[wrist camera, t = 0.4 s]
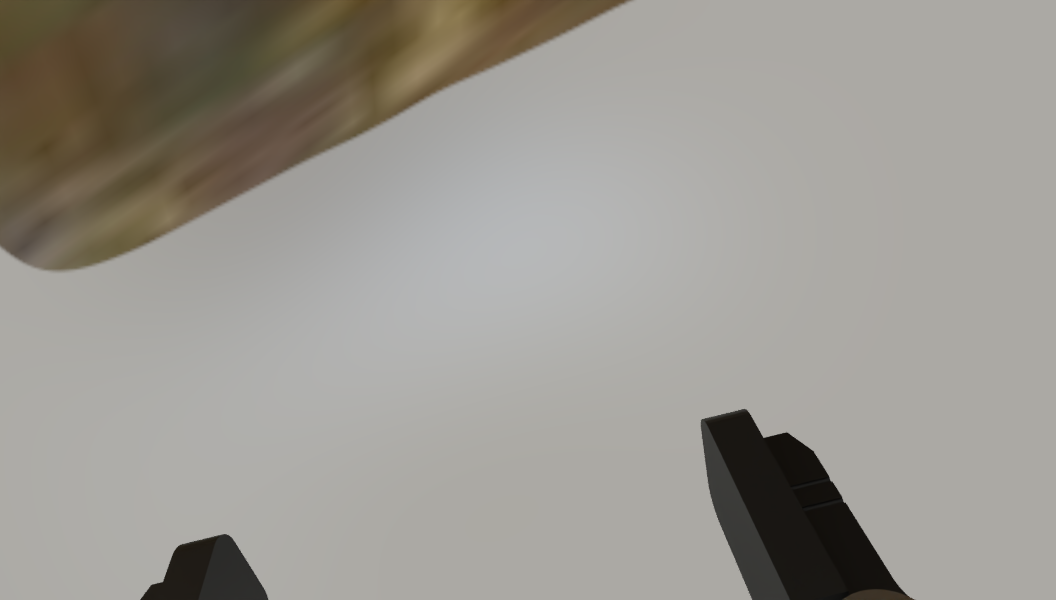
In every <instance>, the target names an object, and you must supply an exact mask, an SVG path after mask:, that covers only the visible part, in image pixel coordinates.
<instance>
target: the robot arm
mask: <svg viewBox="0 0 1056 600" xmlns="http://www.w3.org/2000/svg"><path fill="white" fill-rule="evenodd" d="M701 431H702V439H703V446H704V453H705V462H706V470H707V477H708V484H709V489H710V494H711V498H712V502H713V505H714V508H715V512H716V515H717V517H718V520H719V522H720V525H721V527H722V530H723V532H724V534H725V537H726V539H727V541H728V544H729V546H730V548H731V551H732V553H733V555H734V558H735V560H736V562H737V565H738V567H739V570H740V572H741V574H742V577H743V579H744V581H745V584H746V586H747V588H748V591H749V593H750V595H751V598H752V600H914V599H912V598H910V597H909V596H907V595H906V594H905V592H903V590H902V589H901V588H900V587H899V586H898V585H897V583H896V582H895V581H894V579H893V578H892V576H891V574H890V573H889V571H888V570H887V568H886V566H885V565H884V563H883V562H882V560H881V558H880V557H879V555H878V554H877V552H876V550H875V549H874V547H873V546H872V544H871V543H870V541H869V539H868V538H867V536H866V535H865V533H864V531H863V530H862V528H861V526H860V525H859V523H858V522H857V520H856V519H855V517H854V516H853V514H852V512H851V511H850V509H849V507H848V506H847V504H846V503H844V502H843V499H842V496H841V495H840V493H839V491H838V490H837V488H836V487H835V485H834V483H833V482H831V481H830V478H829V475H828V474H827V472H826V471H825V469H824V468H823V466H822V464H821V463H820V461H819V459H818V458H817V456H816V455H815V453H814V451H812V450H811V449H810V448H808V447H807V446H805V445H804V444H803V443H801V442H800V441H798V440H797V439H796V438H794V437H793V436H791V435H790V434H789V433H782V434H778V435H774V436H770V437H766V438H763V436H762V435H761V433H760V431H759V429H758V427H757V426H756V424H755V422H754V420H753V418H752V417H751V415H750V413H749V412H748V411H747V410H746V409H742V410H738V411H735V412H730V413H726V414H722V415H718V416H714V417H710V418H705V419H702V420H701ZM141 600H268V598H267V594H266V592H265V590H264V588H263V587H262V585H261V583H260V582H259V580H258V578H257V577H256V575H255V574H254V572H253V570H252V569H251V567H250V566H249V564H248V562H247V561H246V559H245V558H244V556H243V555H242V553H241V551H240V550H239V548H238V546H237V545H236V543H235V542H234V540H233V539H232V538H231V537H230V536H229V535H226V534H223V535H218V536H214V537H211V538H206V539H203V540H198V541H194V542H190V543H186V544H182V545H180V546H178V547H177V548H176V550H175V551H174V553H173V556H172V558H171V561H170V564H169V567H168V569H167V572H166V575H165V578H164V581H163V582H162V583H157V584H153V585H151V586H150V588H149V589H148V590H147V592H146V593H145V594H144V596H143V597H142V598H141Z"/></svg>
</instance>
